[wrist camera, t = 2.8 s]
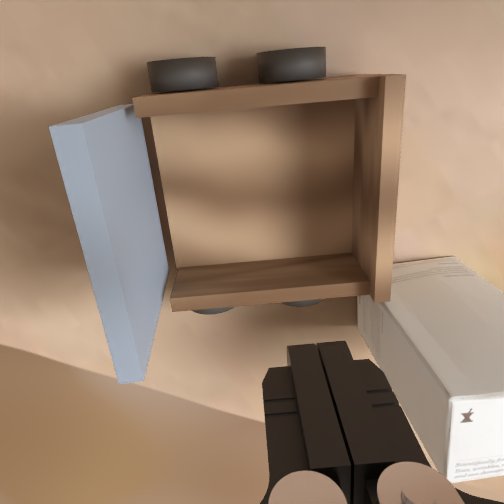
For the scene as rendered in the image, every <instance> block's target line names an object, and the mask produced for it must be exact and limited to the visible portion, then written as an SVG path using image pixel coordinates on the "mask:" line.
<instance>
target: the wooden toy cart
mask: <svg viewBox="0 0 504 504" xmlns="http://www.w3.org/2000/svg"><path fill="white" fill-rule="evenodd" d="M257 56H258V71H259V83H260V84H249V85H238V86H226V87H217V86H218V80H217V70H216V61H215V57H195V58H181V59H170V60H160V61H152V62H147V66H148V72H149V78H150V84H151V90H152V92H158V93H149V94H146V95H142V96H138V97H133V98H132V100H133V105H134V110H135V116H136V118H142V117H150V119H151V124H152V130H153V136H154V142H155V147H156V153H157V159H158V165H159V170H160V176H161V182H162V188H163V193H164V199H165V205H166V211H167V216H168V222H169V228H170V234H171V239H172V245H173V251H174V257H175V262H176V268H177V276H176V280H175V283H174V286H173V290H172V293H171V296H170V302H171V307H172V312H177V311H188V310H192V311H194V312H196V313H199V314H218V313H222V312H225V311H228V310H230V309H232V308H234V307H235V306H246V305H258V304H269V303H283V304H285V305H289V306H298V307H301V306H310V305H314V304H316V303H319V302H320V301H322V300H323V299H327V298H338V297H350V296H362V295H370V296H371V298H372V300H373V301H374V303H378V302H390V298H391V284H392V269H393V255H394V240H395V225H396V211H397V196H398V182H399V167H400V153H401V138H402V124H403V109H404V94H405V80H406V75H401V74H363V75H352V76H340V77H329V78H323V77H326V49H325V47H308V48H295V49H284V50H275V51H267V52H261V53H257ZM315 78H318V79H315ZM305 79H306V80H305ZM294 80H295V81H294ZM282 81H283V82H282ZM267 82H272V83H267ZM210 87H215V88H210ZM201 88H203V89H201ZM191 89H192V90H191ZM168 91H169V92H168Z"/></svg>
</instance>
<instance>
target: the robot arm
mask: <svg viewBox="0 0 504 504" xmlns="http://www.w3.org/2000/svg"><path fill="white" fill-rule="evenodd" d="M287 362H288V366H286V367H275V368H269V369H268V372H267V374H266V376H265V378H264V380H263V382H262V388H263V400H264V413H265V425H266V437H267V449H268V462H269V472H270V473H269V474H270V477H269V486H268V489H267V492H266V494H265V496H264V499H263V500H262V501H261V503H260V504H504V503H503V502H498V501H493V500H489V499H484V498H480V497H476V496H472V495H469V494H467V493H464V492H462V491H460V490H458V489H456V488H454V486H453V485H452V484H451V482H450V481H449V480H448V479H447V478H446V477H444V476H443V475H442V474H441V473H439V472H438V471H436V470H435V469H433V468H432V467H431V466H430V464H429V462H428V461H427V459H426V457H425V455H424V453H423V451H422V449H421V447H420V445H419V443H418V441H417V439H416V437H415V435H414V433H413V430H412V428H411V426H410V424H409V422H408V420H407V418H406V416H405V414H404V412H403V410H402V408H401V406H399V402H398V400H397V398H396V396H395V394H394V392H392V388H391V386H390V384H389V382H388V380H387V378H386V376H385V374H384V372H383V371H382V370H381V369H379V368H378V367H377V366H376V365H375V364H374V363H373V362H371V361H370V360H369V359H364V360H353V358H352V355H351V353H350V350H349V348H348V345H347V343H346V342H345V341H336V342H325V343H317V344H316V345H315V344H304V345H292V346H287Z"/></svg>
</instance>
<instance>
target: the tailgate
mask: <svg viewBox="0 0 504 504" xmlns="http://www.w3.org/2000/svg"><path fill="white" fill-rule="evenodd" d="M48 127H49V130H50V134H51V138H52V141H53V145H54V149H55V152H56V156H57V160H58V163H59V167H60V171H61V174H62V178H63V182H64V185H65V189H66V192H67V196H68V200H69V203H70V207H71V211H72V214H73V218H74V222H75V225H76V229H77V233H78V236H79V240H80V244H81V247H82V251H83V254H84V258H85V262H86V265H87V269H88V273H89V276H90V280H91V284H92V287H93V291H94V295H95V298H96V302H97V306H98V309H99V313H100V317H101V320H102V324H103V327H104V331H105V335H106V338H107V342H108V346H109V349H110V353H111V357H112V360H113V364H114V368H115V371H116V375H117V379H118V382H119V384H123V383H132V382H140V381H144V379H145V374H146V370H147V366H148V361H149V357H150V353H151V348H152V344H153V340H154V335H155V331H156V327H157V322H158V318H159V314H160V309H161V305H162V301H163V296H164V292H165V287H166V283H167V279H168V274H169V268H168V262H167V257H166V251H165V246H164V240H163V235H162V229H161V224H160V218H159V213H158V207H157V202H156V196H155V191H154V186H153V180H152V175H151V169H150V164H149V158H148V153H147V147H146V142H145V136H144V131H143V125H142V120H141V118H136V116H135V110H134V105H133V104H123V105H117V106H114V107H111V108H107V109H104V110H101V111H98V112H94V113H91V114H88V115H84V116H81V117H78V118H75V119H71V120H68V121H65V122H62V123H58V124H55V125H52V126H48Z"/></svg>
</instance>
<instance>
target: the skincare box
mask: <svg viewBox="0 0 504 504" xmlns="http://www.w3.org/2000/svg"><path fill="white" fill-rule="evenodd" d="M357 301H358V304H357V306H358V330H359V331H360V333H361V335H362V337H363V339H364V340H365V342H366V344H367V346H368V348H369V349H370V351H371V353H372V355H373V356H374V358H375V360H376V362H377V364H378V365H379V367H380V369H381V370H382V371H383V372H384V374H385V376H386V378H387V380H388V382H389V384H390V386H391V388H392V390H393V392H394V394H395V396H396V397H397V399H398V401H399V402H400V404H401V406H402V408H403V410H404V412H405V413H406V415H407V417H408V418H409V420H410V422H411V424H412V426H413V428H414V429H415V431H416V433H417V434H418V436H419V438H420V440H421V441H422V443H423V445H424V447H425V449H426V450H427V452H428V454H429V455H430V457H431V459H432V461H433V462H434V464H435V466H436V468H437V470H438V471H439V473H441V474H442V475H443V476H444V477H446V478H447V479H448V480H449V481H450V482H451V483H456V482H463V481H470V480H476V479H482V478H488V477H495V476H502V475H504V293H503V292H502V291H501V290H499V289H498V288H496V287H495V286H494V285H492V284H491V283H490V282H488V281H487V280H486V279H484V278H483V277H482V276H480V275H479V274H477V273H476V272H475V271H473V270H472V269H471V268H469V267H468V266H467V265H465V264H464V263H463V262H461V261H460V260H459V259H457V258H456V257H455V256H451V257H443V258H435V259H427V260H419V261H411V262H404V263H396V264H393V269H392V284H391V298H390V302H378V303H374V301H373V300H372V298H371V296H370V295H362V296H357Z"/></svg>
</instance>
